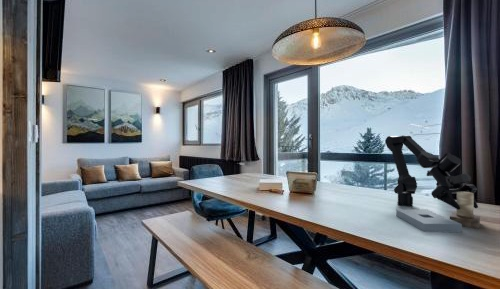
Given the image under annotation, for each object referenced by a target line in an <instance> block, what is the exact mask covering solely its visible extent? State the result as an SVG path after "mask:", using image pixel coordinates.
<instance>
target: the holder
mask: <svg viewBox="0 0 500 289" xmlns="http://www.w3.org/2000/svg"><path fill="white" fill-rule="evenodd" d="M456 212H457V211H452V212H451V214H450V215H449V219H451V220H453V221H456V222H458V223H460V224H462V227H467V228H473V229H477V230H478V229H480V225H481V215H476V214H475V215H474V214H473V216H474V217H473V218H464V217H460V216H457V215H456Z"/></svg>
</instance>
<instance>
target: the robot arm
mask: <svg viewBox="0 0 500 289" xmlns="http://www.w3.org/2000/svg"><path fill="white" fill-rule="evenodd" d="M384 143H385V144H386V147H387V150H389V151H390V152H391V154H392V157H393V161H394V164H395V167H396V171H397V174H398V177H397V178H398V179H397V181H396V182H397V185H396V187H394V188H393V191H394V193H395V194H397V202H396V203H397V205H398V206H405V207H413V204H414V197H413V196H412V195H415V193H416V190H417V188H418V183H417V180H416V177H415V176H412V175H410V171H409V169H408V166H407V163H406V160H405V157H404V153H403V151H402V150H403V147H404V146H405V147H406V148H407V149H408V150H409V151H410V152H411V153H412V154H413V155H414V156H415V158H416V161H417V163H418V164H419V165H420V167H421V168H423V169H430V170H427V171H426V176H427V177H432V178H433V179H434V180H435V181H436V183H435V184H436V186H437V187H435V188H434V189H433V190H431V197H432V198H433V199H437V200H438V201H439V200H440V201H441V202H443V203H446V205H449V206H451V207H452V208H454V209H456V210H457V209H458V210H459V209H460V207H459V205H458V204H457V200H456V199H455V197H454V196H453V194H457V192H458V191H462V192H470V193H474V194H476V192H477V190H478V188H477V186H476V185H475V184H465V183H470V182H471V180H472V176H470V174H468V173H465V172H464V173H462V174H458V175H455V176H454V175H450V173H451V172H453V171H454V170H456V168H458V167H459V166H460V165H461V164H462V160H461V158H459V157H458V156H456V155H453V154H451V152H446V153H444V154H443V156H442V157H441V158H439V157H438V156H437V155H436V154H435V155H434V154H433V153H431V152H428V151H427V150H425V149H424V148H423V147H422V146H420V145H419V143H418V142H417V141H416V140H414V139H413V138H412V136H411V135H406V134H405V135H389V136H387V137H386V138H385V140H384ZM463 184H464V185H463ZM478 208H479V205H478V203H477V200H476V198H475V196H474V209H478Z"/></svg>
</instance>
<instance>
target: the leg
mask: <svg viewBox="0 0 500 289" xmlns="http://www.w3.org/2000/svg"><path fill="white" fill-rule="evenodd" d="M474 197H475V193H470V192H462V191H458V192H457V193H456V202H457V204H458V205H459V207H460V209H459V210H458V209H456V211H455V212H456V215H457V216H460V217H464V218H473V217H474V216H473V215H474V209H475V208H474Z"/></svg>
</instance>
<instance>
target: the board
mask: <svg viewBox="0 0 500 289" xmlns="http://www.w3.org/2000/svg"><path fill="white" fill-rule="evenodd" d="M395 214H396V217H397V218H400V219H402V220H403V221H404V222H407V224H408V223H409V224H410V225H412V226H414V227H415V228H417V229H419V230H421V231H422V232H431V233H432V232H437V233H438V232H441V233H445V232H446V233H447V232H449V233H451V232H452V233H455V232H456V233H457V232H458V233H462V232H463V226H462V224H460V223H458V222H456V221H453V220H451V219H450V217H449V218H448V217H446V216H444V215H442V214H440V213H436V212H434V211H432V210H429V209H423V208H422V209H420V208H419V209H406V208H405V209H399V208H398V209H397V208H396V210H395Z"/></svg>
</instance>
